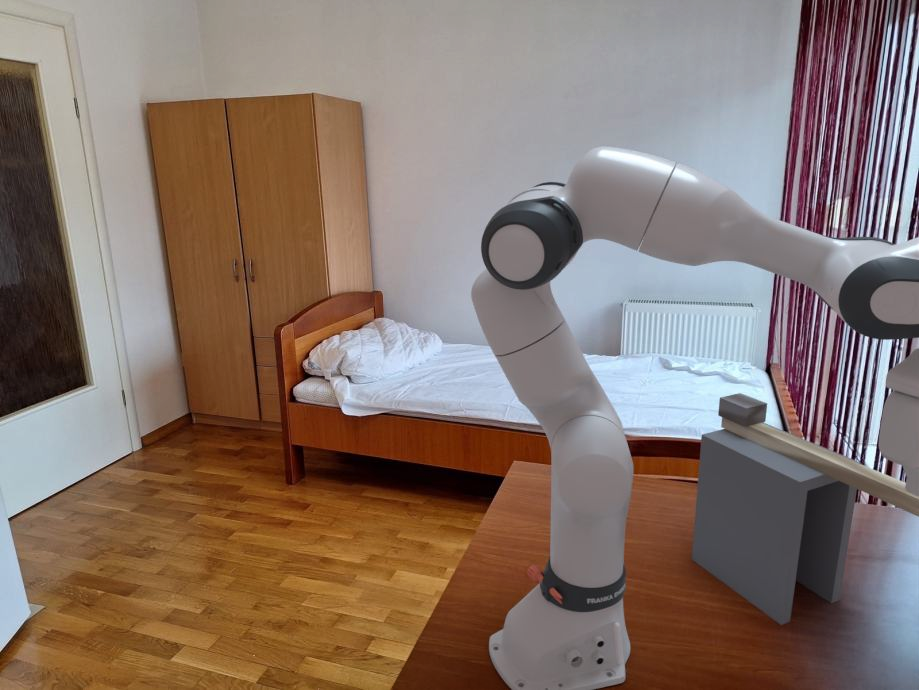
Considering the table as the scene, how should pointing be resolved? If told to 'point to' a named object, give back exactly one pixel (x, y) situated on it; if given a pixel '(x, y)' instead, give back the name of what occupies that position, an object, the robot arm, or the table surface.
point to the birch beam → (811, 452)
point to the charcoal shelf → (769, 523)
